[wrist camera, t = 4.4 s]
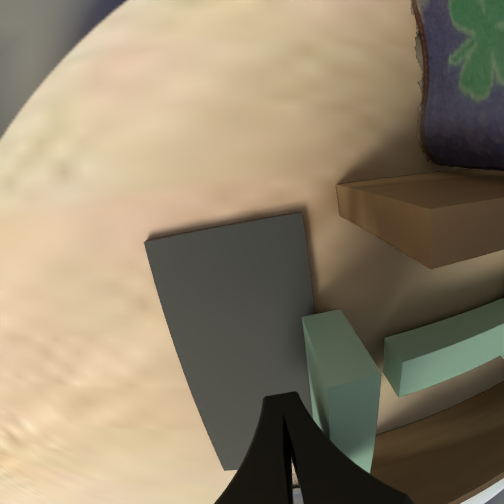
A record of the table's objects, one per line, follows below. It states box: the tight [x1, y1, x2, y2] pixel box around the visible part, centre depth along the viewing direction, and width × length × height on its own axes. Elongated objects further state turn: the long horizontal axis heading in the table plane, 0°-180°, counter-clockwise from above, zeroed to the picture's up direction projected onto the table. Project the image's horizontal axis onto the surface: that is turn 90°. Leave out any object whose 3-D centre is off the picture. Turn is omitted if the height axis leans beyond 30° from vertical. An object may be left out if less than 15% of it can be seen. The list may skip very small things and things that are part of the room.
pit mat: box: [144, 212, 315, 471], centre depth 13 cm, size 14×6×1 cm, turn 10°
